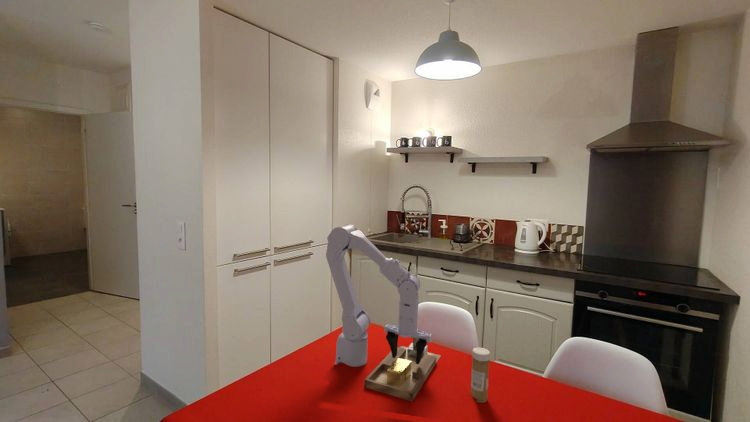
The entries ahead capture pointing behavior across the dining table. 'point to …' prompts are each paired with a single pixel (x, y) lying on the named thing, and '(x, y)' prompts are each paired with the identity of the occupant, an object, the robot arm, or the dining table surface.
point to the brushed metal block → (413, 351)
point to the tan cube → (405, 364)
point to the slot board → (414, 381)
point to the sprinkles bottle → (480, 374)
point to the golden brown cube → (396, 375)
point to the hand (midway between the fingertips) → (406, 359)
